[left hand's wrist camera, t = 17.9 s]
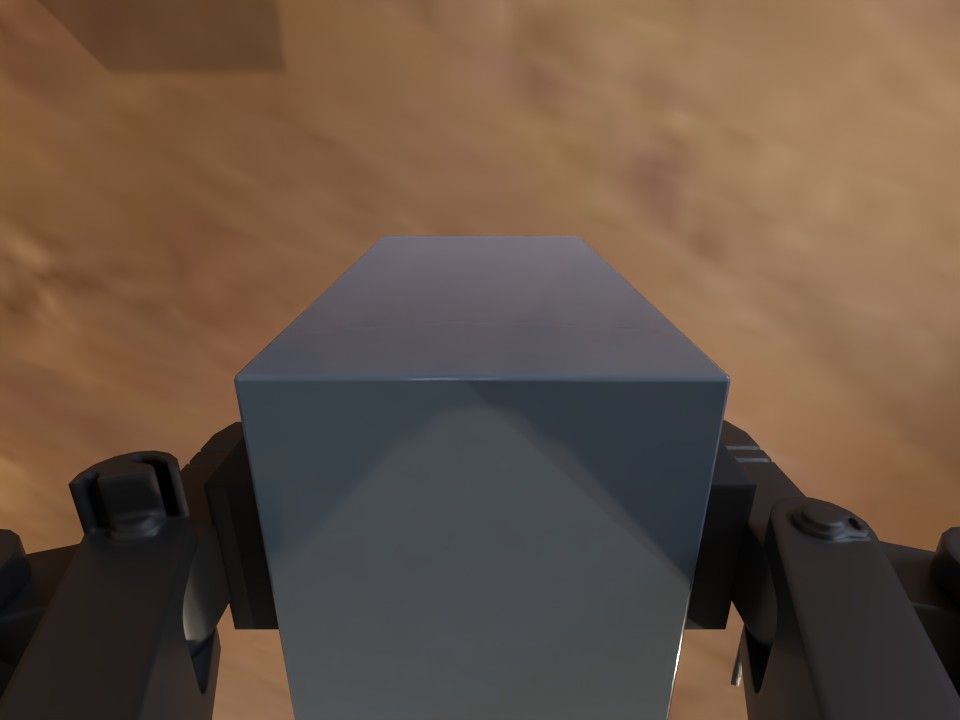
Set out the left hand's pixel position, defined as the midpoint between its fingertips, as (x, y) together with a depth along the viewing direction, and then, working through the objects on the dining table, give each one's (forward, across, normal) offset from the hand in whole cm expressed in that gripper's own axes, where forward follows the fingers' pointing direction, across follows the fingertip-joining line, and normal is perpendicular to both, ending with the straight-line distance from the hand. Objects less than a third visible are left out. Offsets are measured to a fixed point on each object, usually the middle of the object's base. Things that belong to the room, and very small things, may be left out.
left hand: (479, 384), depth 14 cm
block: (+5, 0, 0) cm, 5 cm away
